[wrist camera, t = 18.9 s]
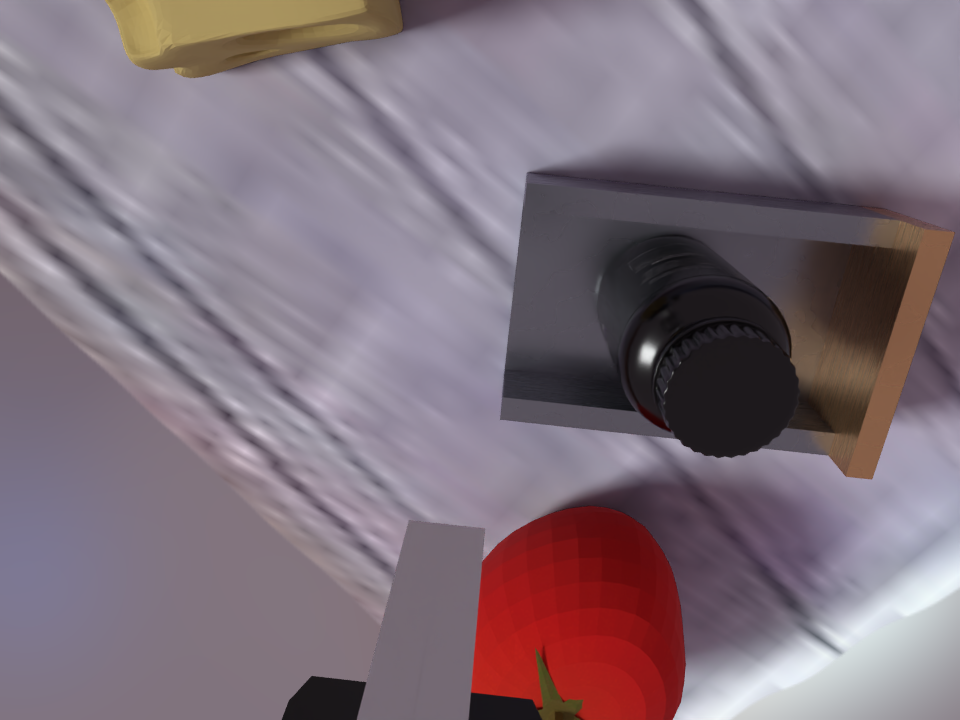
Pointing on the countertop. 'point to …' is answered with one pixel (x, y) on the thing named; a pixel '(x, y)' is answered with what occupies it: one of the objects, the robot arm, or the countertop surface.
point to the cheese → (243, 29)
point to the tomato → (581, 619)
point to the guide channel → (761, 259)
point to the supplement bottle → (698, 347)
